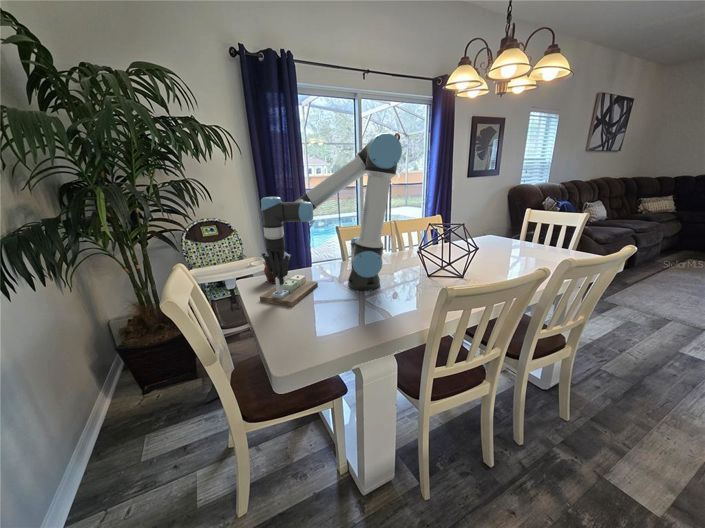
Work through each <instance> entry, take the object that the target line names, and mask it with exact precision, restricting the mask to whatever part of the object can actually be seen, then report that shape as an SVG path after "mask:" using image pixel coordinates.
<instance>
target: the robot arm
mask: <svg viewBox="0 0 705 528" xmlns="http://www.w3.org/2000/svg"><path fill="white" fill-rule="evenodd" d="M402 154H403V147H402V143H401V141H400V139H398V137H397V136H396V135H394V134H392V133H390V132H382V133H378V134H376V135H374V136H373V137H372V138H371V140H369V141H368V143H367V144H366V145H365V146H364V147H363V148H362V149H360V150H359V151H358V152H357V153H356V154H355V157H354V158H353V159H352V160H350V161H348V162H347V163H346V164H345V165H343V166H341V167H340V168H339V169H338V170H336V171H335V172H334V173H332V174H331V175H329V176H327V177H326V178H325V179H323V181H321V182H319V183H318V184H317V185H316V186H314V187H313V188H311V189H309V191H307V192H306V193H304V194H303V195H302V196H300V197H298V198H297V199H296V200H295V201H290V202H289V201H286V202H285V201H282V198H281V197H279V196H266V197H262V198H261V200H260V204H261V206H260V207H261V210H260V211H261V216H262V224H263V234H264V243H265V247H266V251H264V252H262V253H261V256H262V258H263V259H264V260H265V263H266V266H267V269H268V272H269V275H272V276H273V277H274V282H273V283H274V285H275V286H276V290H277V292H278V293H280V292H282V291H283V284H284V281H285V280H284V278H285V277H286V276H288V275H289V273H288V272H289V268H290V267H289V266H290V261H291V258H292V255H291V254H290V253H288V252H287V251H286V249H285V246H286V243H285V242H286V240H285V233H284V231H285V230H284V223H291V222H293V223H294V222H295V223H296V222H299V223H300V222H301V223H306V222H312V221H313V220H314V211H315V210H316V209H317V208H319V207H320V206H322V205H323V204H325V203H326V202H327V201H328V200H330V199H331V198H334V197H335V196H336V195H337V194H339V193H340V192H341V191H343V190H345V189H346V188H348V187H349V186H350V185H351V184H353V183H354V182H356V181H357V180H358V179H361V178H362V177H363V176H364V175H367V181H366V189H365V196H364V202H363V211H362V217H361V223H360V224H361V225H360V231H359V232H360V233H359V236H354V237H352V238H351V239H350V252H351V253H350V260H351V270H350V273H349V276H348V278H347V286H348V287H349V288H351V289H353V290H356V291H372V290H375V289H377V288H380V286H381V280H380V276H379V273H380V272H381V270H382V268H383V258H382V256H383V251H384V244H383V242H382V240H381V239H382V232H383V228H384V221H385V215H386V210H387V204H388V203H387V202H388V199H389V191H390V185H391V180H392V179H393V178H394V177H395V176H396V174H397V169H398V163H399V162H400V160H401V158H402ZM271 271H272V272H271Z"/></svg>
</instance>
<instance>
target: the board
mask: <svg viewBox="0 0 705 528" xmlns="http://www.w3.org/2000/svg"><path fill="white" fill-rule="evenodd" d="M287 280H290V278H287V279H285V280H284V282H286V281H287ZM317 287H319V283H318V282H317V281H311V280H306V283H304V284H303V285H301V286H298V288H297V289H296V290H295V291H293V292H289V295H288V296H286V297H285V298H284V299H280V298H274V297H273V296H272V294H273V293H274V292H276V291H277V290H276V285H275V286H274V287H272V288H271V289H269V290H268V291H266V292H264V293H263V294H261V295H260V296H259V301H260V302H266V303H270V304H276V305H283V306H288V307H293V306H294V307H295V305H297V303H299V302H300V301H301V300H303V299H304V298H305V297H306V296H308V295H309V294H310V293H312V291H314V290H315V289H316V288H317Z"/></svg>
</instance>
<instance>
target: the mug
mask: <svg viewBox="0 0 705 528" xmlns="http://www.w3.org/2000/svg"><path fill="white" fill-rule="evenodd" d="M262 263H263V266H264V268H263V271H264V275H265V277H266V280H267V282H269V283H274V277H273V276H272V275H269V272H268V269H267V266H266V263H265V259H264V260H263V261H262ZM271 272H272V271H271Z"/></svg>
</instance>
